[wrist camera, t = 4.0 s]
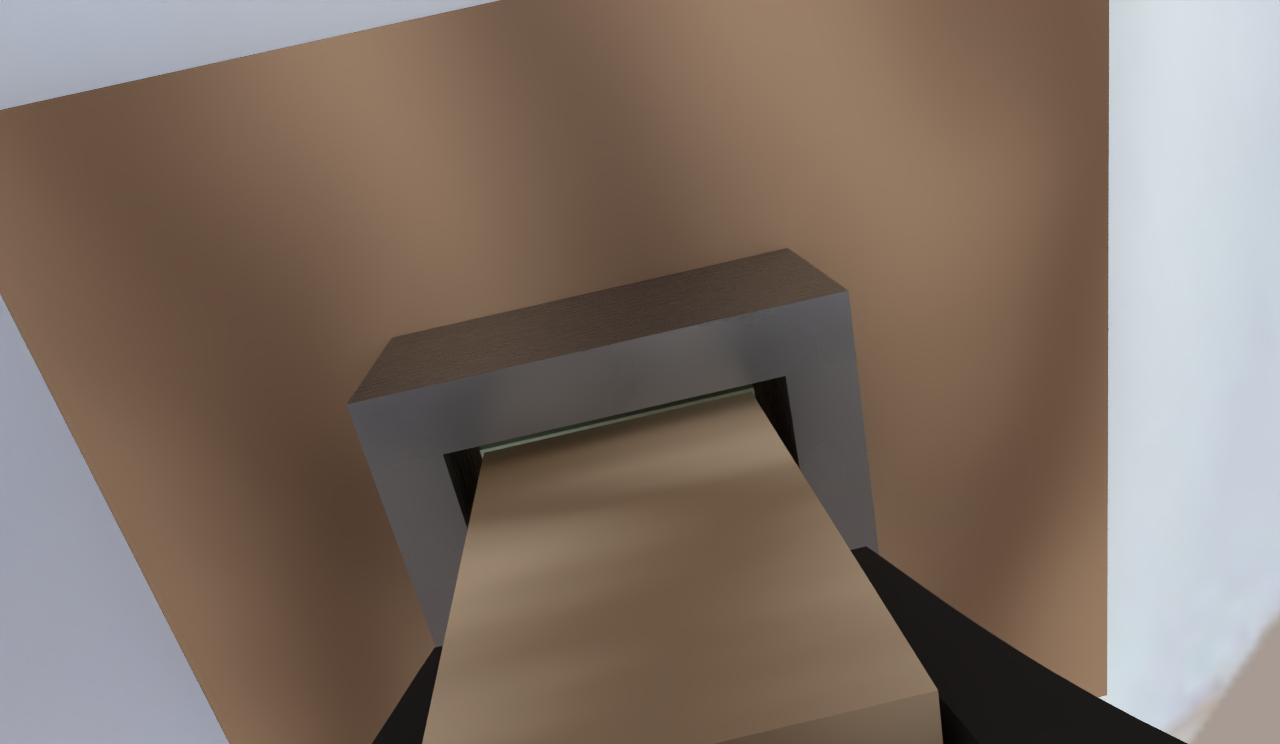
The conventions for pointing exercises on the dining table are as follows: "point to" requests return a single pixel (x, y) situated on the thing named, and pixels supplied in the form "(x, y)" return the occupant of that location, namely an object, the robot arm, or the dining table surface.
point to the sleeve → (611, 392)
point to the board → (567, 289)
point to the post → (667, 596)
